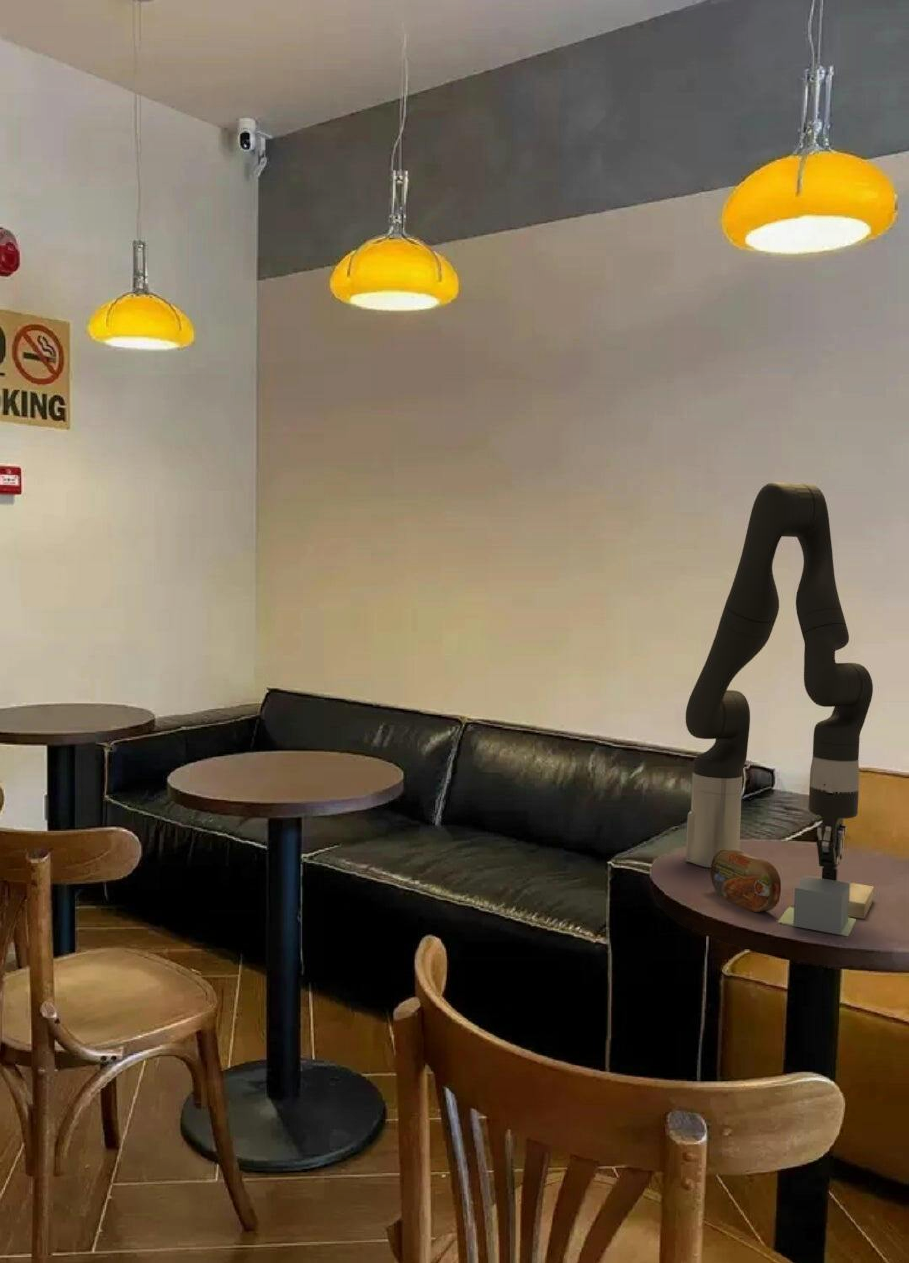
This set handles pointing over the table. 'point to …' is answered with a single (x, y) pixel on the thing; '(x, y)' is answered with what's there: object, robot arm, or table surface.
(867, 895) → the block
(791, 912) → the mat
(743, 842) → the table surface
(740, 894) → the tin
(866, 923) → the table surface
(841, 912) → the box
